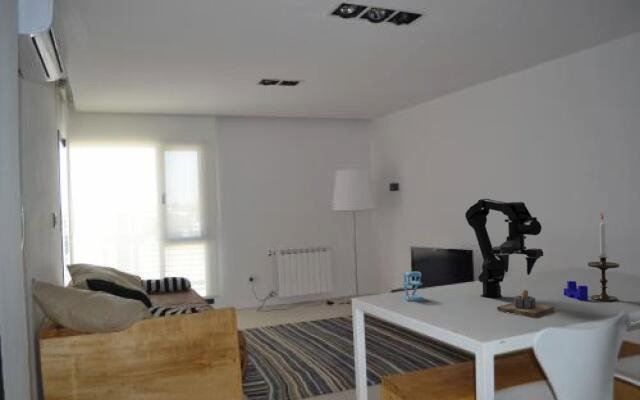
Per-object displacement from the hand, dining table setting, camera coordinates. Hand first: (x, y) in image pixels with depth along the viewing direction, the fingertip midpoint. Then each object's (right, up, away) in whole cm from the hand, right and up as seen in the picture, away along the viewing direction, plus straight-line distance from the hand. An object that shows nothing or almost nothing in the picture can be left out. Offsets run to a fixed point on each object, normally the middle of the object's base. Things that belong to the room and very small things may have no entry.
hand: (517, 273), depth 188 cm
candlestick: (+36, -11, +4) cm, 38 cm away
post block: (-2, -12, -12) cm, 17 cm away
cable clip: (+27, -12, +8) cm, 31 cm away
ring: (-2, -11, -12) cm, 16 cm away
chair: (-38, -13, +14) cm, 43 cm away
